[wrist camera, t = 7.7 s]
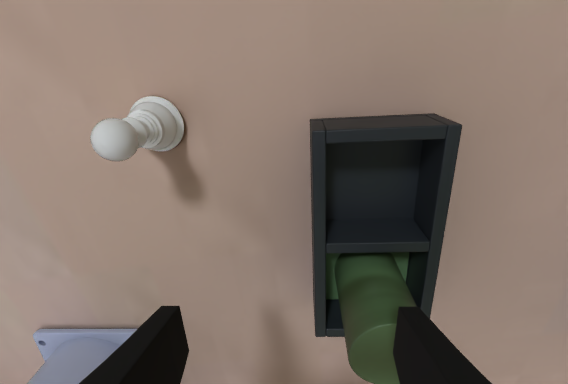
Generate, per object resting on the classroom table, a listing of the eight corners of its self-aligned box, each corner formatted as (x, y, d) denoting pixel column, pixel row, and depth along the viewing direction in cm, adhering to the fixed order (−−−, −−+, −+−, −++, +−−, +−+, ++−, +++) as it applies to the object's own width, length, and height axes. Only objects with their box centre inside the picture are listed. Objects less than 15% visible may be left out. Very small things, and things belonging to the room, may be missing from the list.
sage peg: (394, 291, 19) (432, 385, 14) (334, 293, 19) (348, 386, 14) (397, 240, 18) (440, 322, 12) (333, 244, 18) (347, 325, 13)
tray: (435, 113, 16) (463, 124, 13) (410, 300, 20) (427, 337, 17) (309, 118, 16) (311, 130, 13) (313, 301, 20) (315, 337, 18)
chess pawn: (126, 138, 17) (61, 168, 12) (136, 86, 16) (69, 98, 11) (178, 157, 17) (133, 194, 12) (190, 108, 16) (147, 127, 11)
